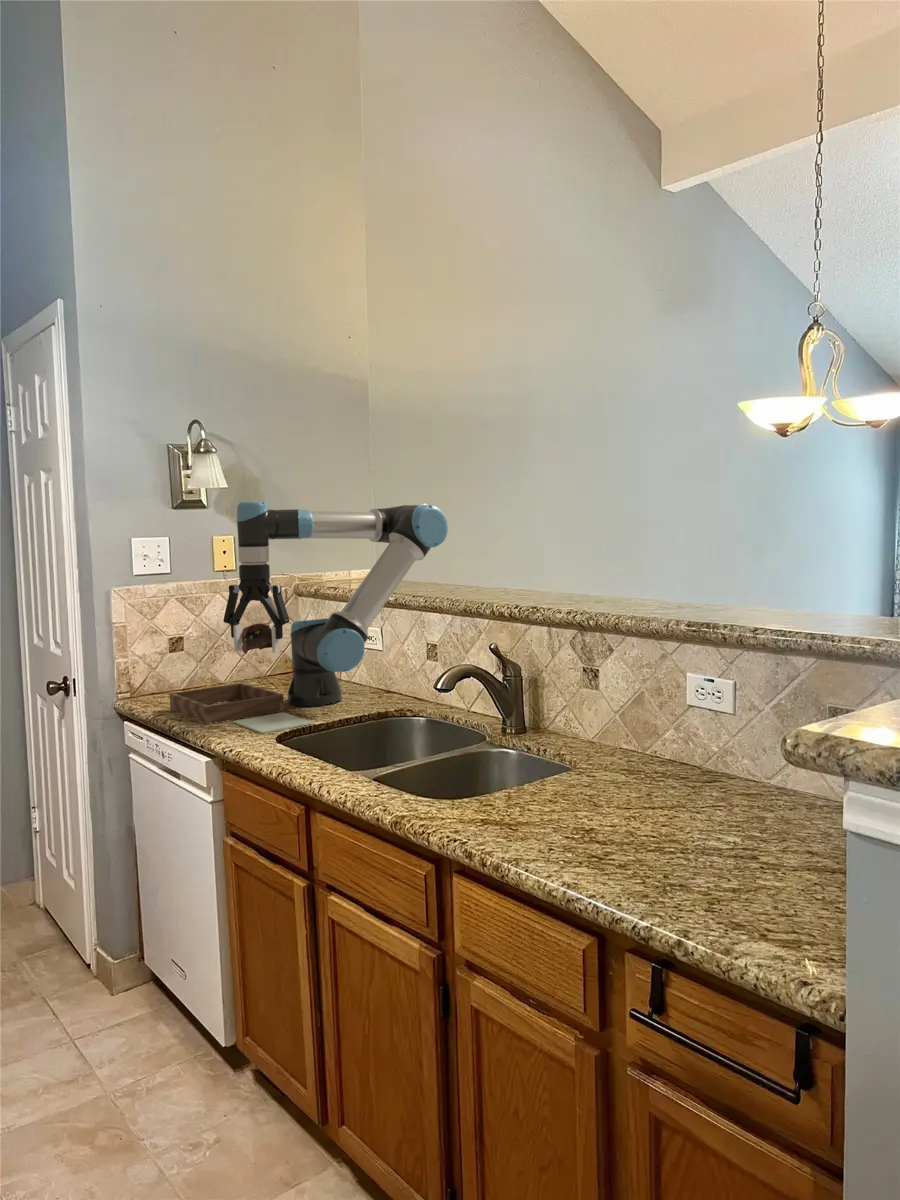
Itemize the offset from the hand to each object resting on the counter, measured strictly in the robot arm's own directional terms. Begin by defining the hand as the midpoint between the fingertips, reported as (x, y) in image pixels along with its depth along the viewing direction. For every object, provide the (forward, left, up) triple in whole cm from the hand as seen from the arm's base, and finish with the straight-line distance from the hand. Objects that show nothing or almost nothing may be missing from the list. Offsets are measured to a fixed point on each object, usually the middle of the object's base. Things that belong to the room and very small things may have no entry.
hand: (257, 651), depth 227 cm
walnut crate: (+15, -10, -18) cm, 25 cm away
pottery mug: (0, -1, -1) cm, 2 cm away
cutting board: (-5, +2, -18) cm, 19 cm away
